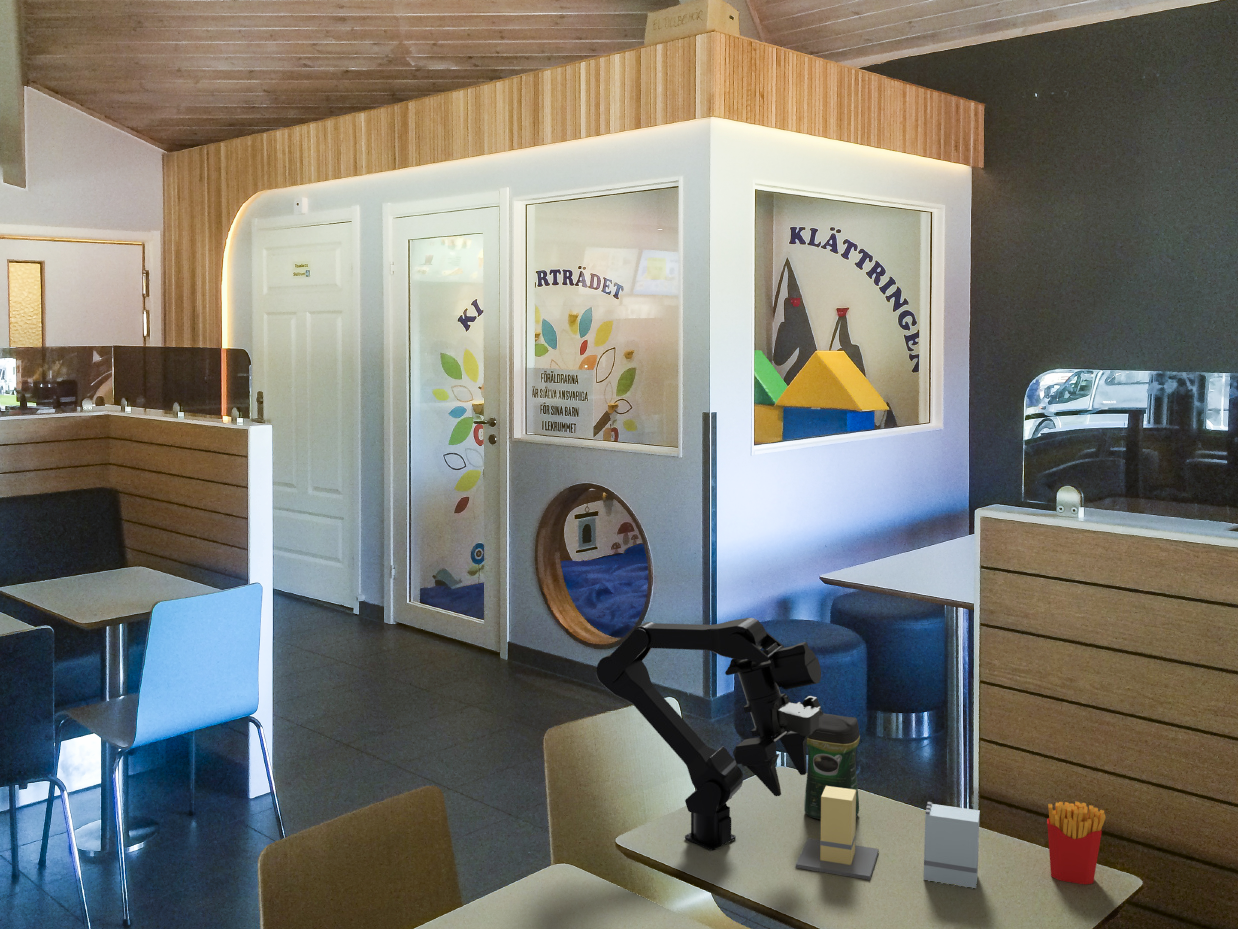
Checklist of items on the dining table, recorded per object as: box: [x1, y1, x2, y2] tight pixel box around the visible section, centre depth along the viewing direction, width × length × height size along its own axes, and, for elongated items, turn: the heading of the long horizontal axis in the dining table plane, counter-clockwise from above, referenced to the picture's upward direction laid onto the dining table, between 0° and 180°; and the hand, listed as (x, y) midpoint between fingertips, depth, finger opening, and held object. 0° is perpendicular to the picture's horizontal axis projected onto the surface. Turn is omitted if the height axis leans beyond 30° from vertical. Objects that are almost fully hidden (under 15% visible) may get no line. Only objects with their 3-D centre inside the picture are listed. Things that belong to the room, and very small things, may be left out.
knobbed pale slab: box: [923, 801, 981, 889], centre depth 177 cm, size 8×4×11 cm, turn 69°
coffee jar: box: [803, 712, 861, 820], centre depth 200 cm, size 10×8×19 cm
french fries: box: [1046, 801, 1107, 885], centre depth 177 cm, size 8×4×12 cm, turn 69°
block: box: [819, 786, 857, 865], centre depth 183 cm, size 5×4×11 cm
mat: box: [795, 837, 880, 881], centre depth 184 cm, size 12×10×1 cm
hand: (791, 785), depth 183 cm, fingers open, 9 cm apart
